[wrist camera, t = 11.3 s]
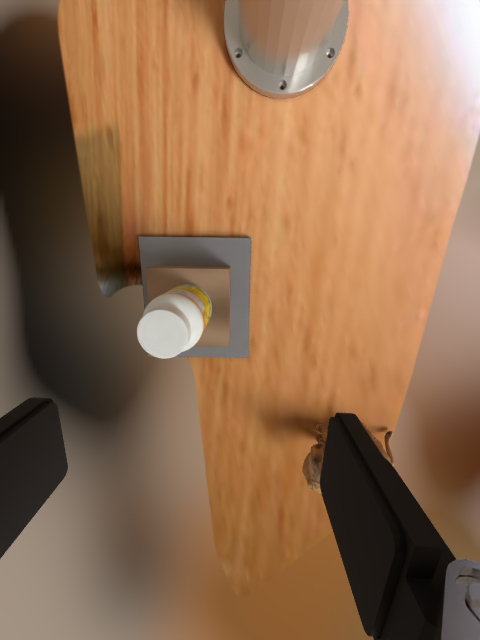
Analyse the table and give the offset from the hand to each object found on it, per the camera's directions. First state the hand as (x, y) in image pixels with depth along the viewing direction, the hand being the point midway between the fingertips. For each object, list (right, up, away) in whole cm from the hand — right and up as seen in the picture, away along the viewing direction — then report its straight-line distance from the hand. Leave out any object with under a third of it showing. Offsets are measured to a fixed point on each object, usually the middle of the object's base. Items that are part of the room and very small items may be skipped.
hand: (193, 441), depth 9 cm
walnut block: (-4, +7, +25) cm, 26 cm away
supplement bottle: (-4, +6, +20) cm, 21 cm away
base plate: (-4, +7, +26) cm, 27 cm away
